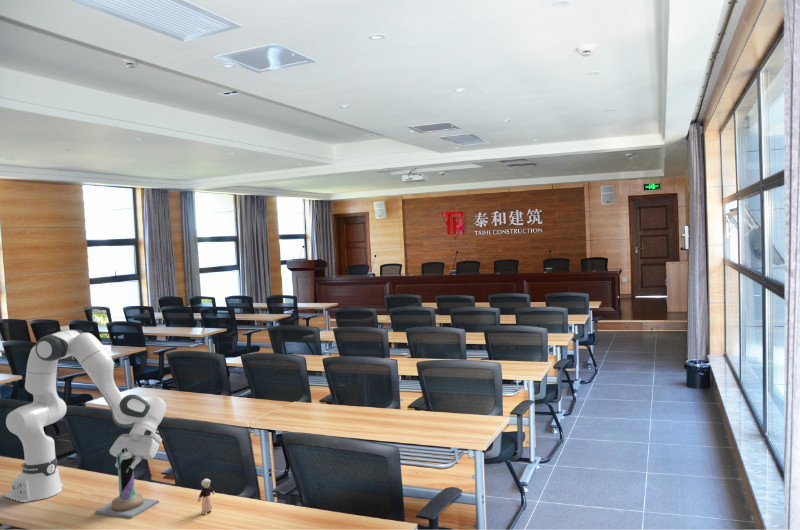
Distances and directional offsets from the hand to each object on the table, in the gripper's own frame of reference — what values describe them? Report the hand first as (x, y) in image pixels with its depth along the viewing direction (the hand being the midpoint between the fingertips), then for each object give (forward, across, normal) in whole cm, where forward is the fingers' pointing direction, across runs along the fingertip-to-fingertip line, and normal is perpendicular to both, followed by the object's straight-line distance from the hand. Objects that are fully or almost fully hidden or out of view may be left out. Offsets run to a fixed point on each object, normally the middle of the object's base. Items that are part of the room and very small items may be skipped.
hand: (124, 467), depth 234 cm
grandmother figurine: (+8, +34, +16) cm, 38 cm away
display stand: (+11, 0, +12) cm, 16 cm away
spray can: (+8, 0, +10) cm, 13 cm away
